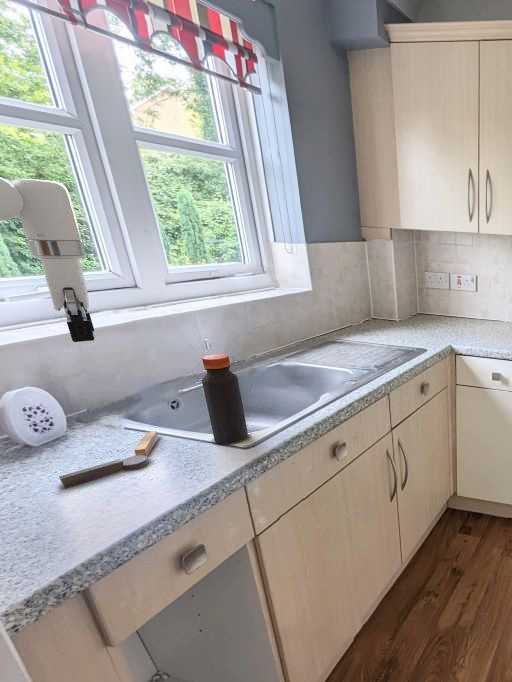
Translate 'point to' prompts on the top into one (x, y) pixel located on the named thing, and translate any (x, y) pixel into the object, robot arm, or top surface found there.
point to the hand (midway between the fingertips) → (84, 336)
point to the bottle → (223, 400)
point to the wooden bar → (146, 443)
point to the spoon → (103, 470)
